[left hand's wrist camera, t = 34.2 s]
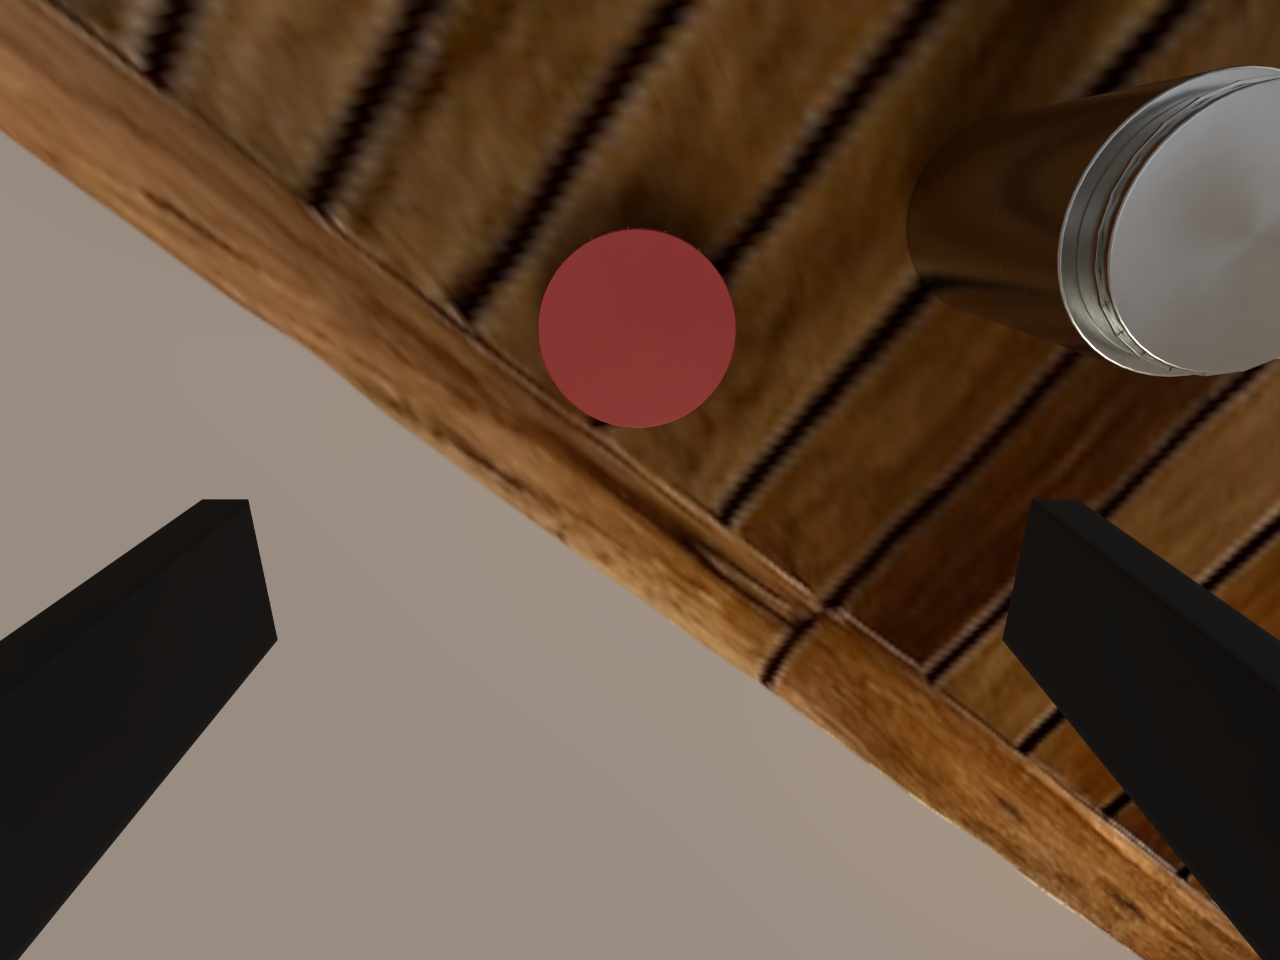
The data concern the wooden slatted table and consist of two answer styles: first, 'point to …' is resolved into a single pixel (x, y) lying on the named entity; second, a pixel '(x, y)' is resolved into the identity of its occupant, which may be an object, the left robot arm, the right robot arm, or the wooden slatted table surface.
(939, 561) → the wooden slatted table surface
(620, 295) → the lid
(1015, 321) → the jar
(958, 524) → the wooden slatted table surface
